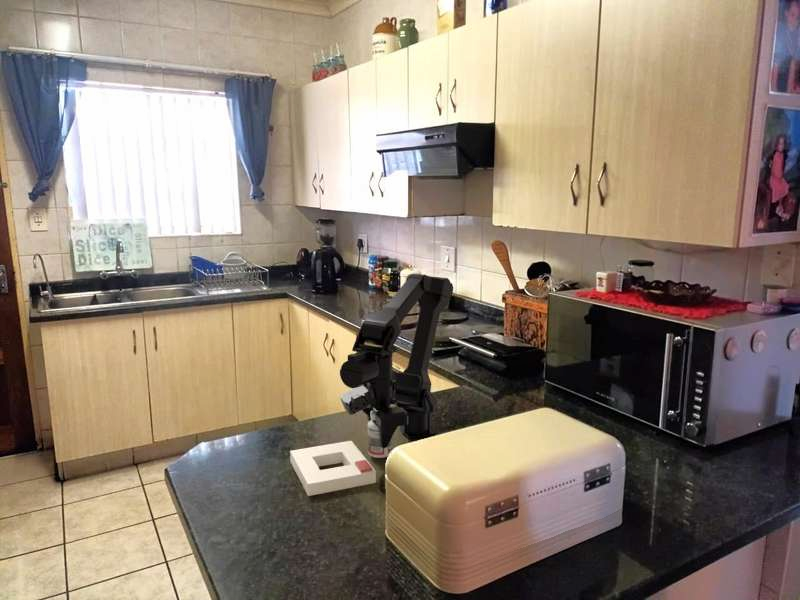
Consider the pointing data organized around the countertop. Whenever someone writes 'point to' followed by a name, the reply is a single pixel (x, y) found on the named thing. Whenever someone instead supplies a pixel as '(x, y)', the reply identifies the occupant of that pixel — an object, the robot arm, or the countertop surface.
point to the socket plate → (331, 479)
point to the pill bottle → (376, 440)
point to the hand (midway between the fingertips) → (379, 442)
